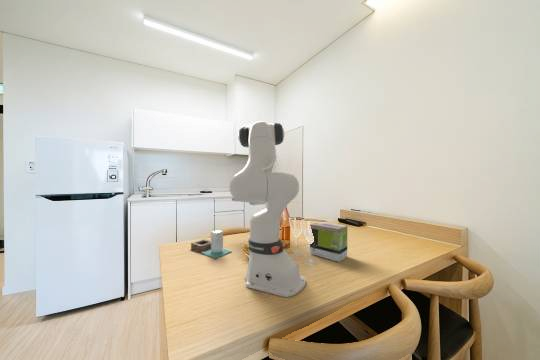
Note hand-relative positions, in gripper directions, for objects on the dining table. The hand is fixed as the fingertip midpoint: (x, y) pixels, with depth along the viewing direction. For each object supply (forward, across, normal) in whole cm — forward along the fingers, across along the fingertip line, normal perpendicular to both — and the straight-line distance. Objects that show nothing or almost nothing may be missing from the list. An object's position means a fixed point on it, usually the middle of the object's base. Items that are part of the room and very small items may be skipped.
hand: (238, 199), depth 112 cm
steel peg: (+16, +1, +24) cm, 29 cm away
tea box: (-14, +46, +25) cm, 54 cm away
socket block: (+16, -10, +25) cm, 31 cm away
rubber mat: (+16, +1, +25) cm, 29 cm away
